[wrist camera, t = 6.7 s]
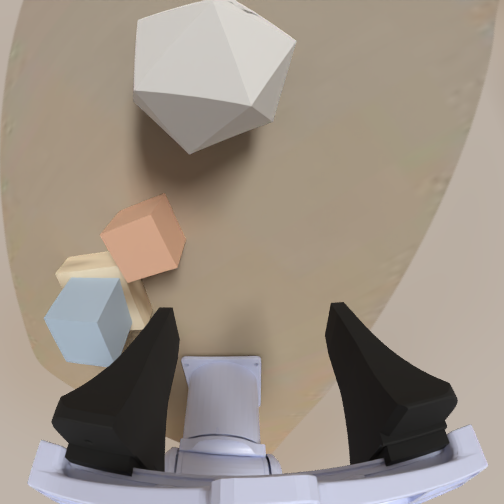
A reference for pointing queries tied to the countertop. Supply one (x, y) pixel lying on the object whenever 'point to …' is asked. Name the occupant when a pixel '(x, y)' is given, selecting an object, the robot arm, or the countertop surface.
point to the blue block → (90, 320)
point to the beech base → (107, 268)
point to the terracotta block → (145, 239)
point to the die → (209, 71)
